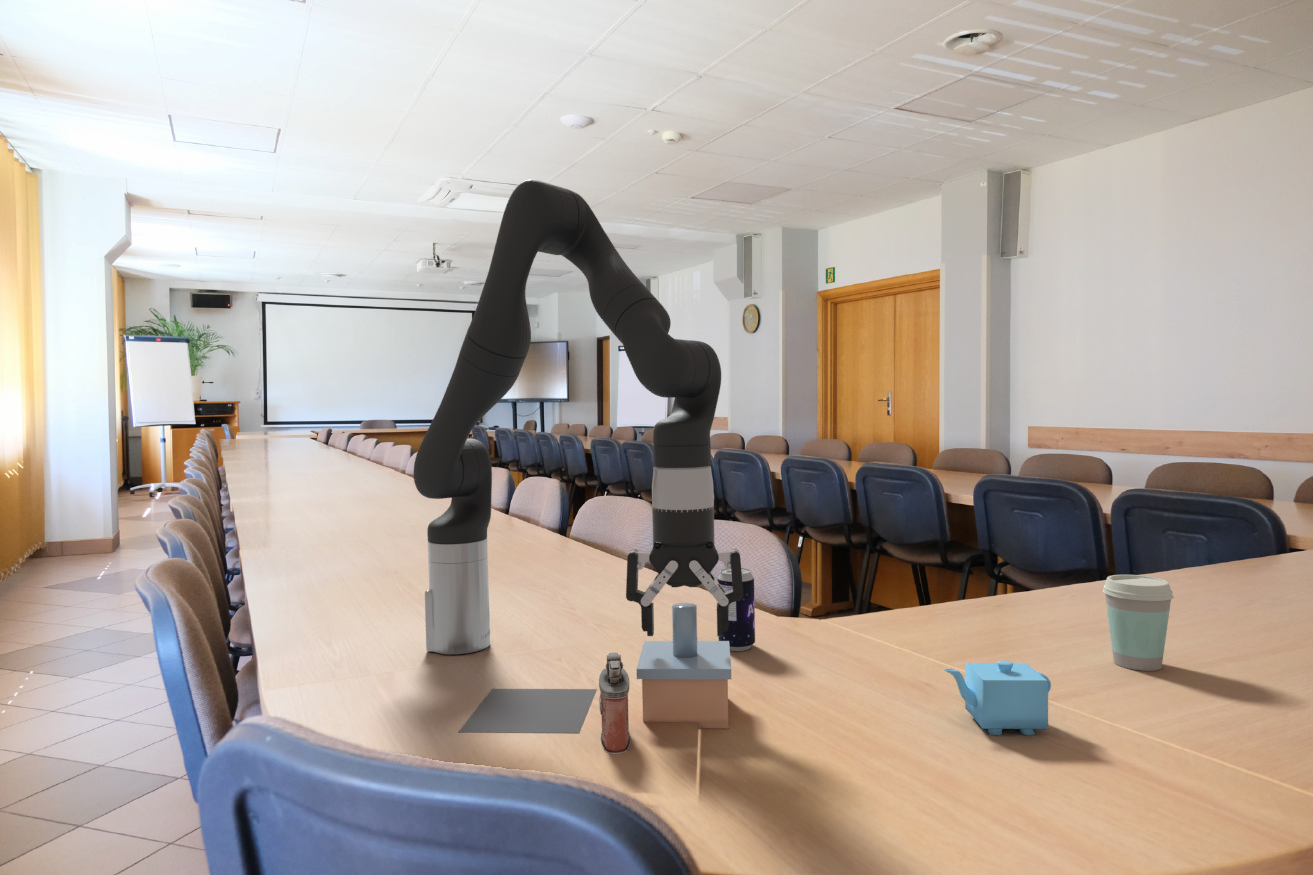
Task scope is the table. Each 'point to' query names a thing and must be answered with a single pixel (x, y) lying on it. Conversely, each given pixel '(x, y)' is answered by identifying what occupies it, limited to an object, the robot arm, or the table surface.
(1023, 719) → the teapot
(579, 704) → the mat
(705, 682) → the tan open box
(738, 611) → the beverage can
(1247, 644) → the table surface
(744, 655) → the table surface
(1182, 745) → the table surface
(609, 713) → the lighter
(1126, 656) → the coffee cup
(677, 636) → the lid
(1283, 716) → the table surface
